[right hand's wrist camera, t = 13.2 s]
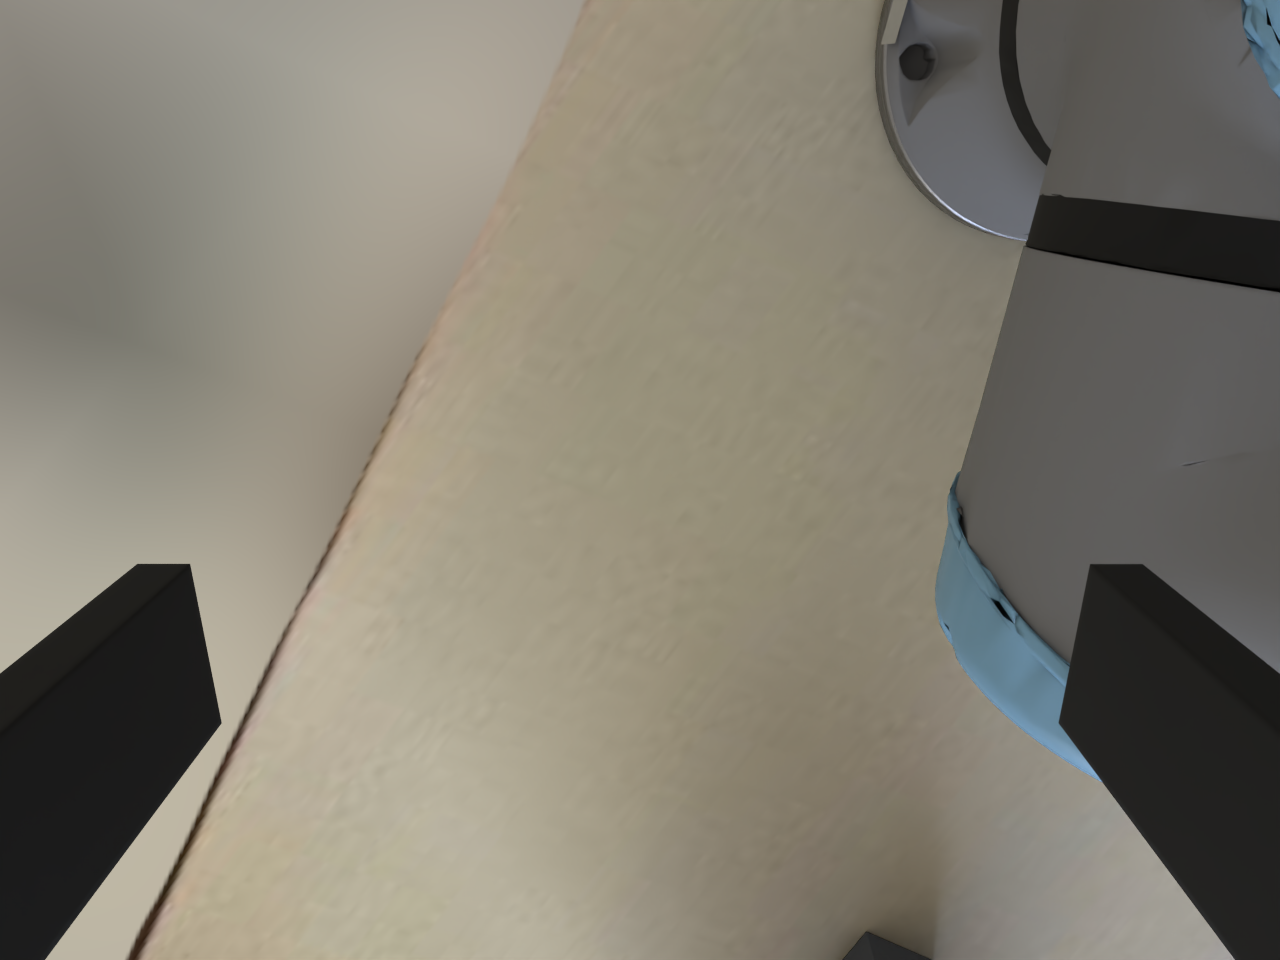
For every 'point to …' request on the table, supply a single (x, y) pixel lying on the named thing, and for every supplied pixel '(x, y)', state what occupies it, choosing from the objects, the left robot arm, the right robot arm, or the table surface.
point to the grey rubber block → (880, 950)
